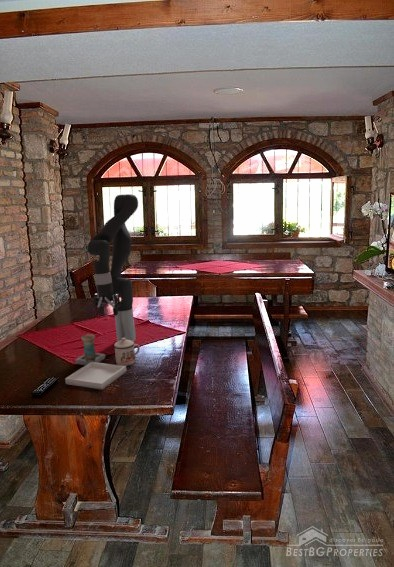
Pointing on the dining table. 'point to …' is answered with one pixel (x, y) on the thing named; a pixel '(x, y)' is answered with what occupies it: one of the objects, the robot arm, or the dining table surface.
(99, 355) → the socket
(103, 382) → the tray
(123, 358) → the teacup with lid
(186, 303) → the dining table surface
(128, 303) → the robot arm
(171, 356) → the dining table surface
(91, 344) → the spool
